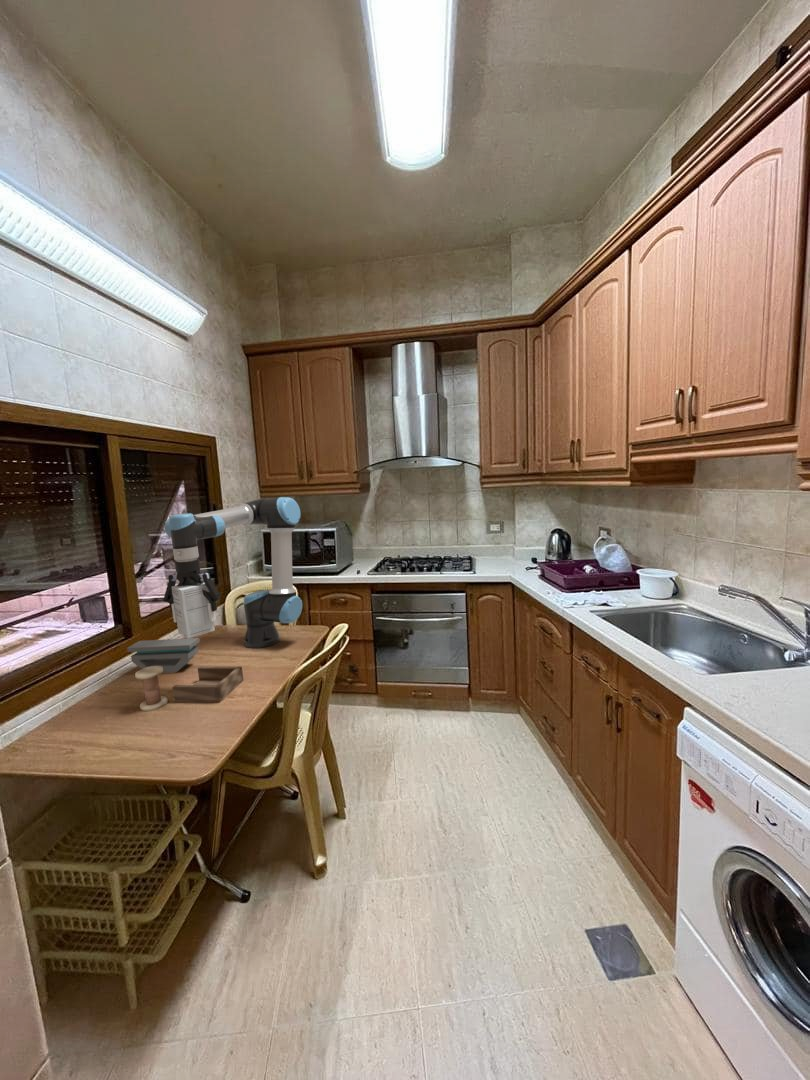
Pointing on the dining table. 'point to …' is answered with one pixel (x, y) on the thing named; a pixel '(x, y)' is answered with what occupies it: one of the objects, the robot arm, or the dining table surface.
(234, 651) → the dining table surface
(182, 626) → the supplement box
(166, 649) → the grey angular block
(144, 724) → the dining table surface
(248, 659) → the dining table surface
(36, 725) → the dining table surface
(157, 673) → the bobbin post
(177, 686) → the open wooden tray
